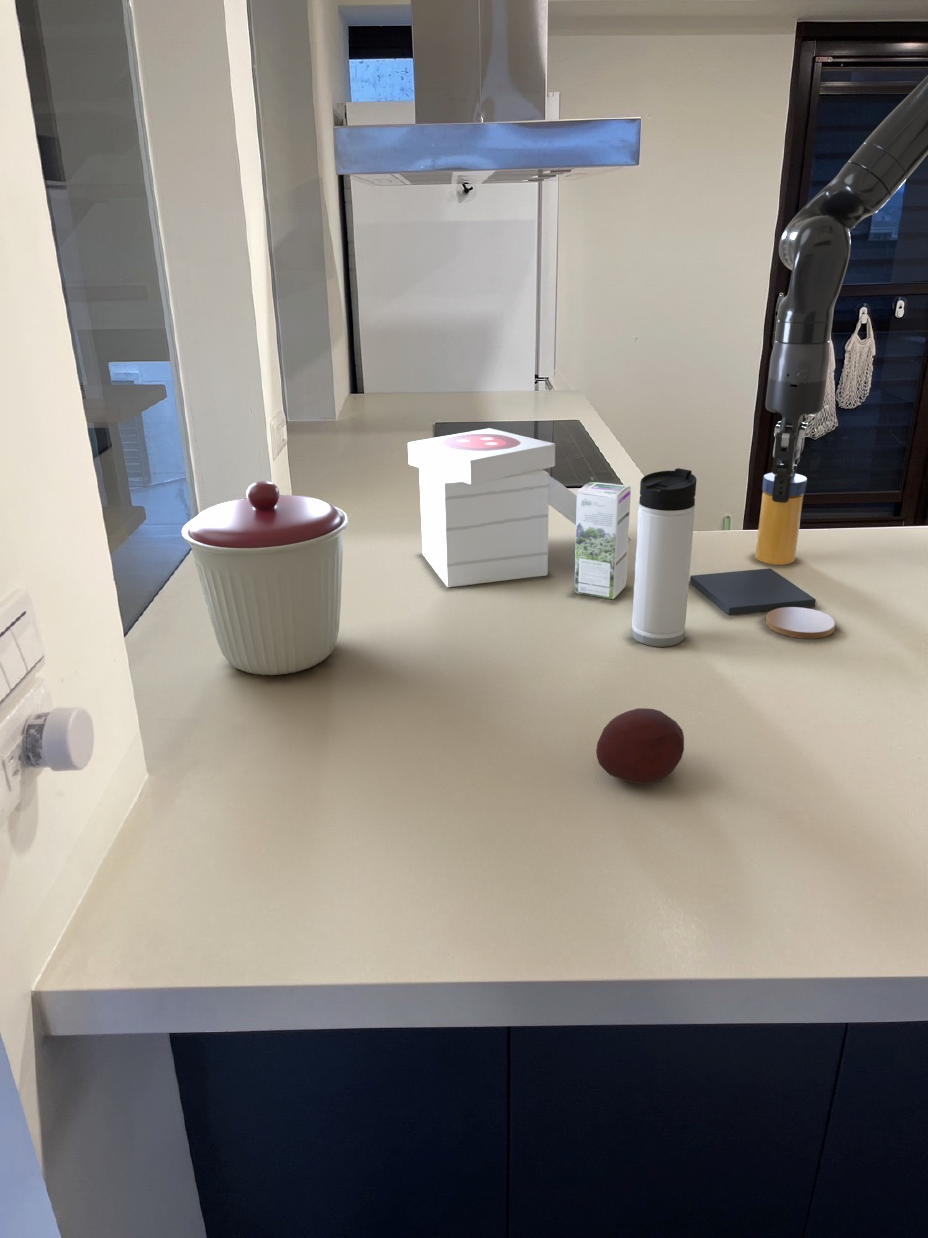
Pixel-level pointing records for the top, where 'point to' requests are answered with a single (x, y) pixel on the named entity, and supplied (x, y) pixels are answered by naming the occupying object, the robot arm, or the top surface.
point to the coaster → (800, 622)
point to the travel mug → (663, 557)
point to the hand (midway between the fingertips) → (782, 494)
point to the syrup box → (602, 539)
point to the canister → (271, 577)
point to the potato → (640, 746)
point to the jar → (778, 530)
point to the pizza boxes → (487, 505)
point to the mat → (751, 591)
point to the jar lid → (796, 487)
